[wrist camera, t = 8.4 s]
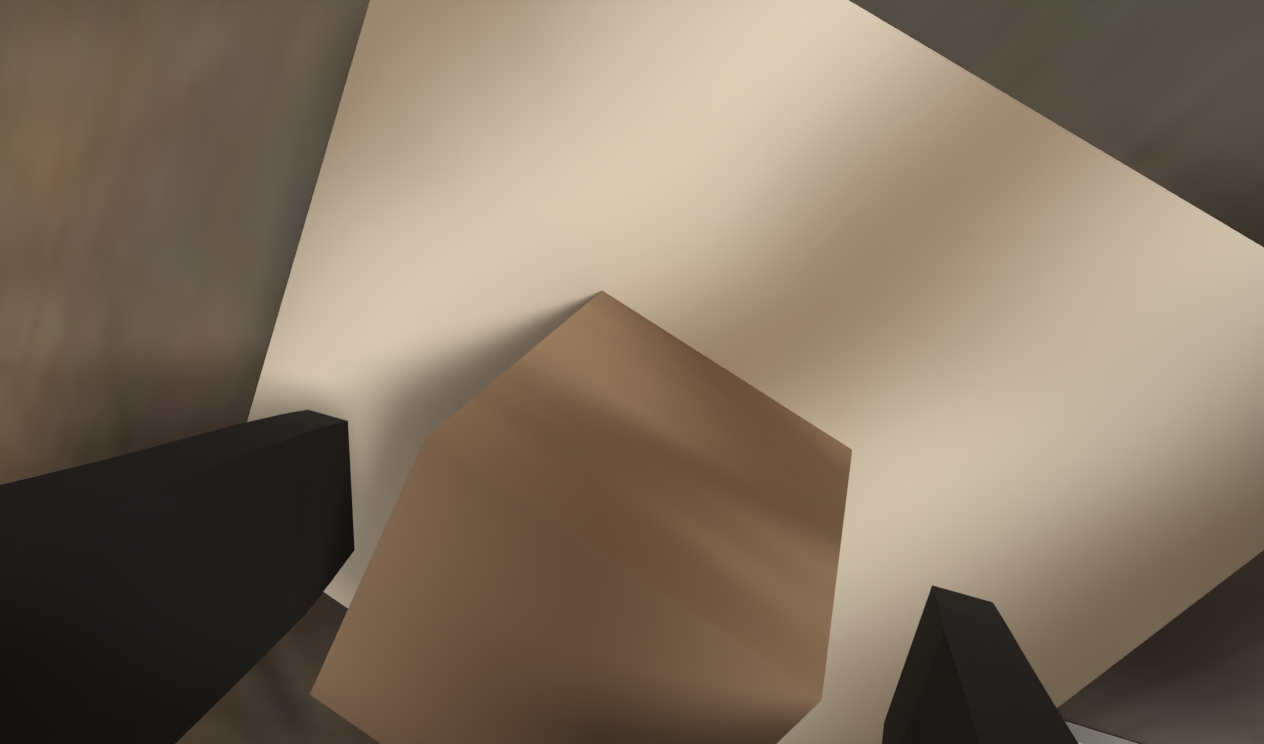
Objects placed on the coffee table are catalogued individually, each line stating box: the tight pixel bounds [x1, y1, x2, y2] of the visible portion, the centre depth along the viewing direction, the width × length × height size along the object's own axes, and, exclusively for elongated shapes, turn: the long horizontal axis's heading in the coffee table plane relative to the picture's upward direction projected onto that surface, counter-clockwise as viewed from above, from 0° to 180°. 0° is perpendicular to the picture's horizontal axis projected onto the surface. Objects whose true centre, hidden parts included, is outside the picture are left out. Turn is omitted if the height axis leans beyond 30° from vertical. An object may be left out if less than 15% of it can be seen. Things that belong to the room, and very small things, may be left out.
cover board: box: [247, 0, 1264, 744], centre depth 10 cm, size 13×13×5 cm
